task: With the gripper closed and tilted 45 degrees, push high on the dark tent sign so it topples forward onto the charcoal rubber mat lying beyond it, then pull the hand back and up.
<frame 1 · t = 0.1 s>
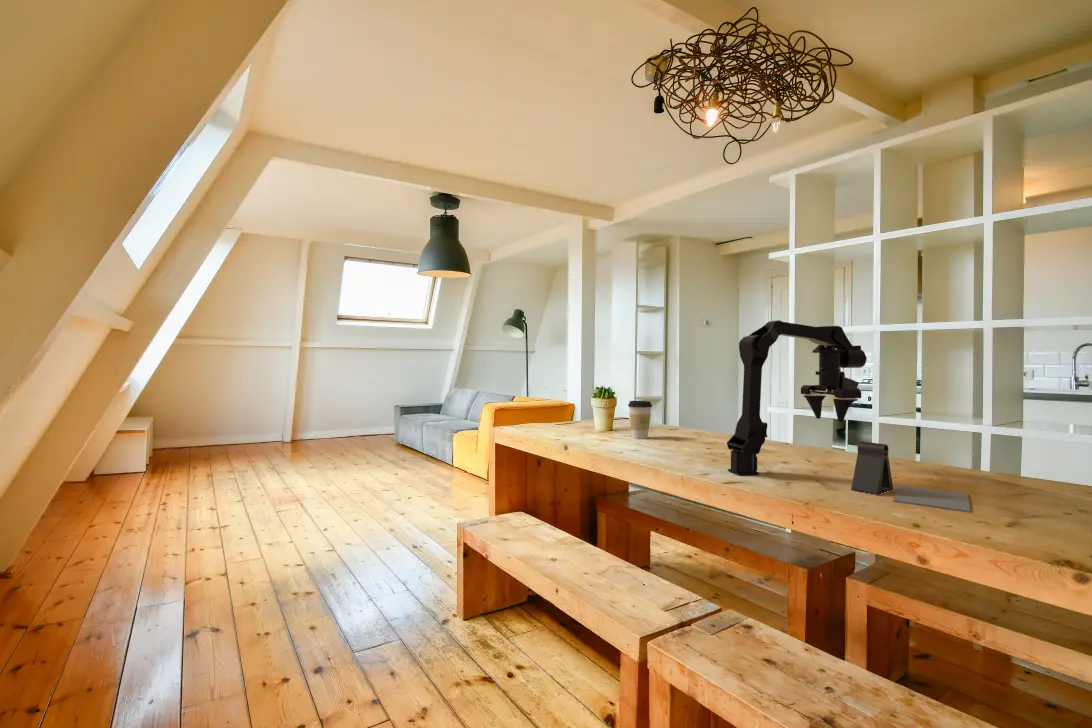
hand: (829, 420, 157), 15 cm above the table, tool pointing down, fingers open, 9 cm apart
coffee cup: (639, 438, 217), on the table
dark tent sign: (872, 491, 133), on the table
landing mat: (931, 498, 126), on the table
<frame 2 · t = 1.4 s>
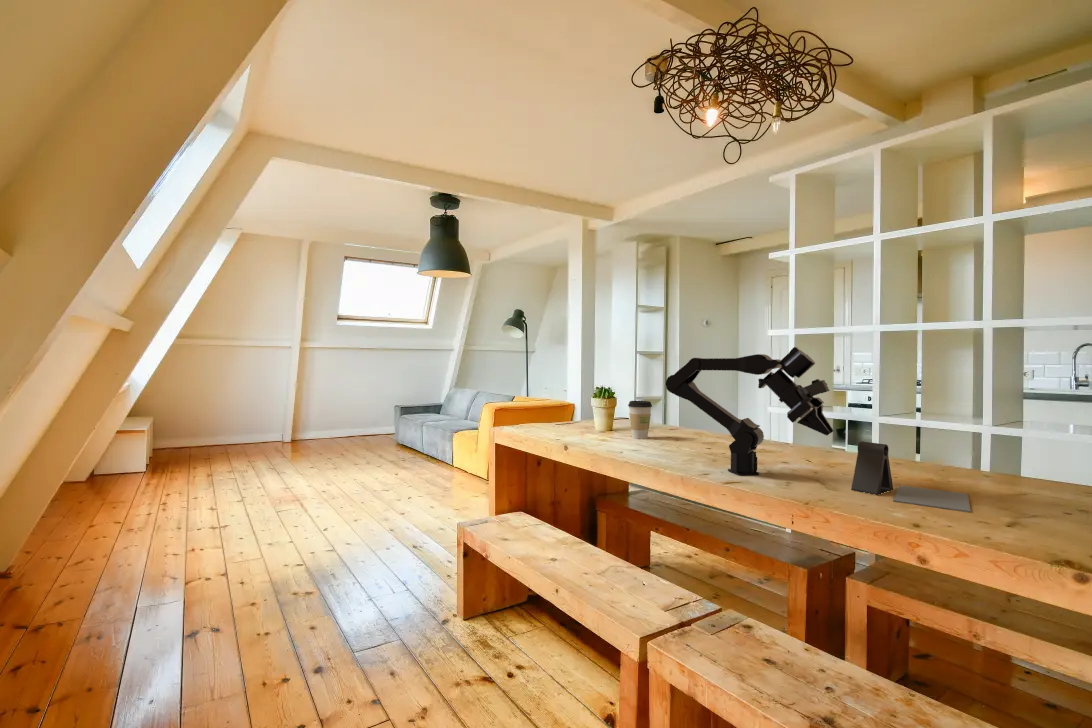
hand: (830, 433, 139), 14 cm above the table, tool tilted 45°, fingers open, 5 cm apart
nothing on the table moved.
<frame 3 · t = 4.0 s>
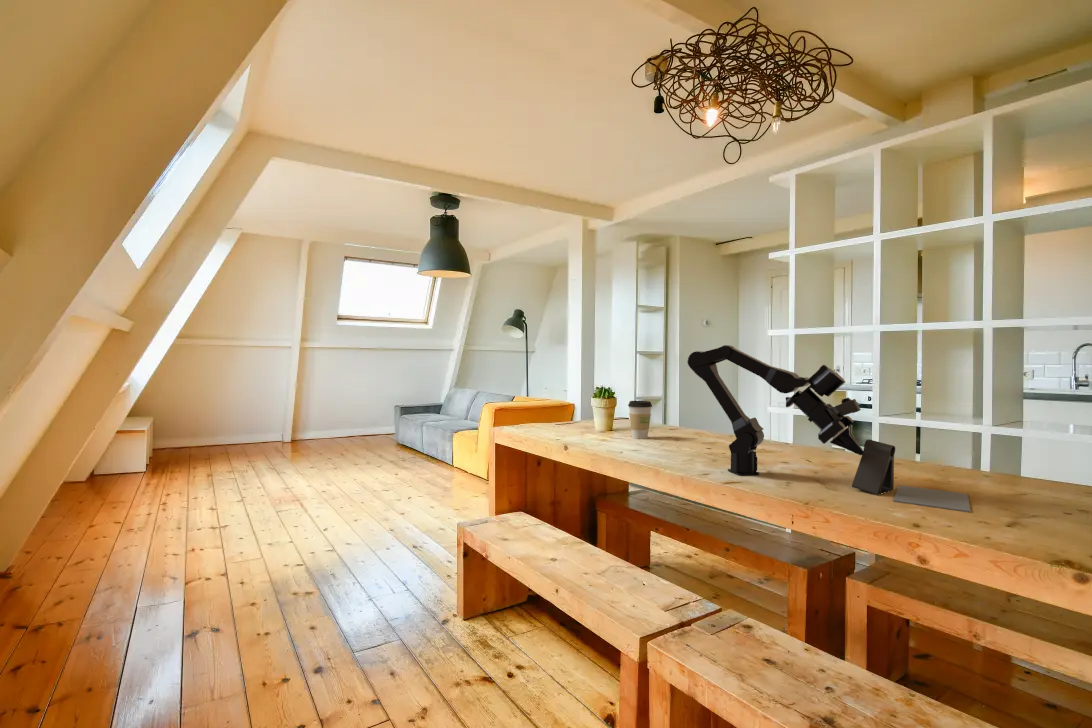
hand: (862, 454, 134), 9 cm above the table, tool tilted 45°, fingers closed
dark tent sign: (872, 489, 133), on the table, touching gripper
everything else where it was.
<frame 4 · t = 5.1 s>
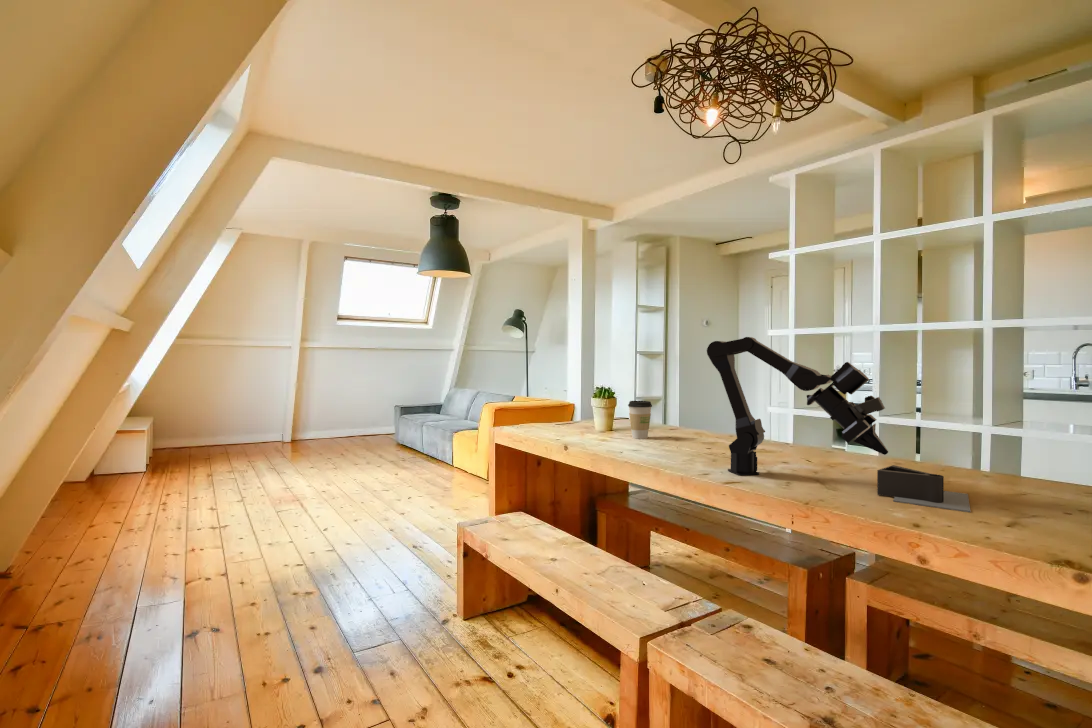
hand: (886, 453, 131), 10 cm above the table, tool tilted 45°, fingers closed
dark tent sign: (884, 479, 131), point 3 cm above the table, touching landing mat
everything else where it was.
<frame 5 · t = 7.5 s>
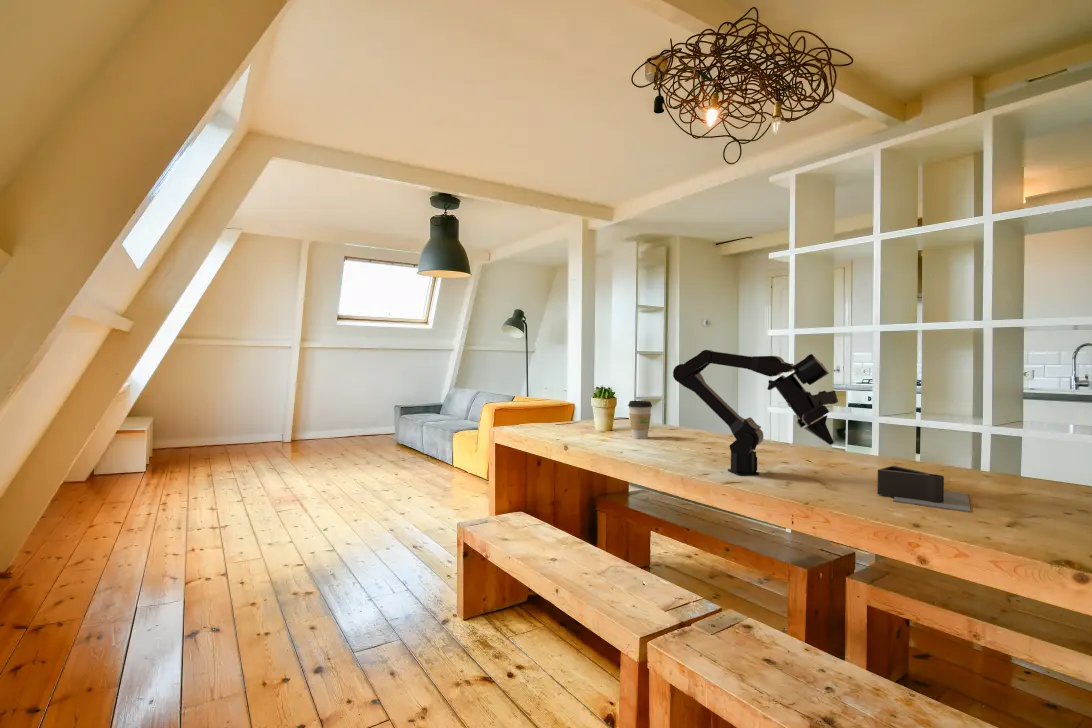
hand: (832, 444, 139), 11 cm above the table, tool tilted 35°, fingers closed
nothing on the table moved.
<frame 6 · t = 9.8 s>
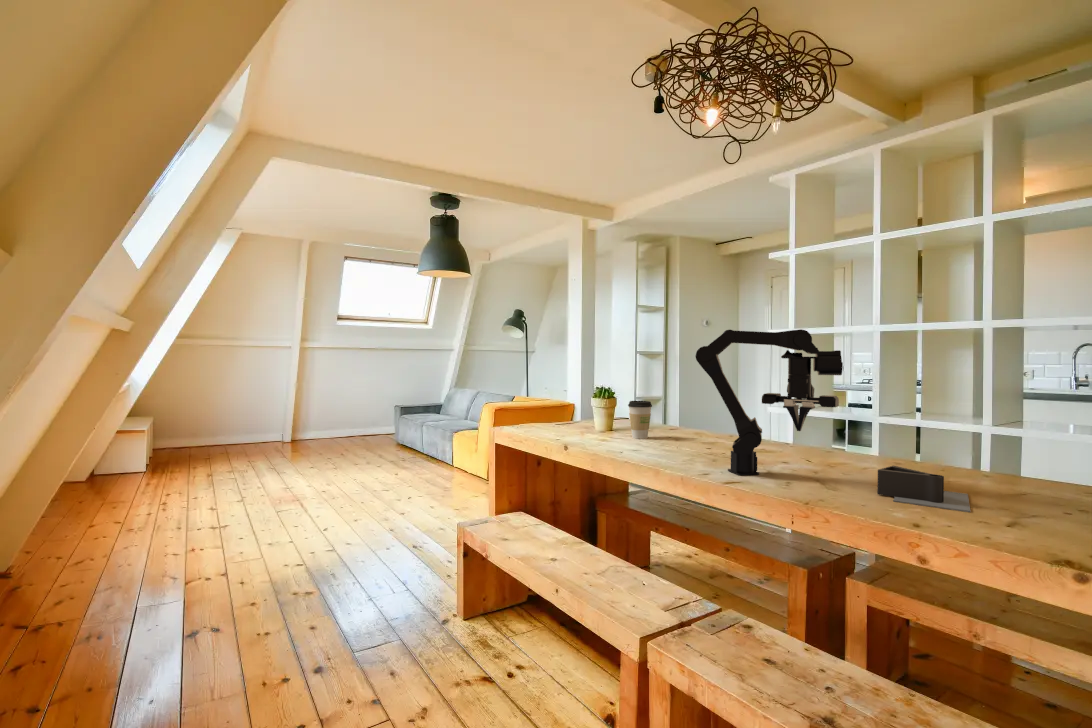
hand: (798, 430, 147), 13 cm above the table, tool pointing down, fingers closed
nothing on the table moved.
at the end: dark tent sign tilted 90°; dark tent sign touching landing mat; the gripper is holding nothing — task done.
